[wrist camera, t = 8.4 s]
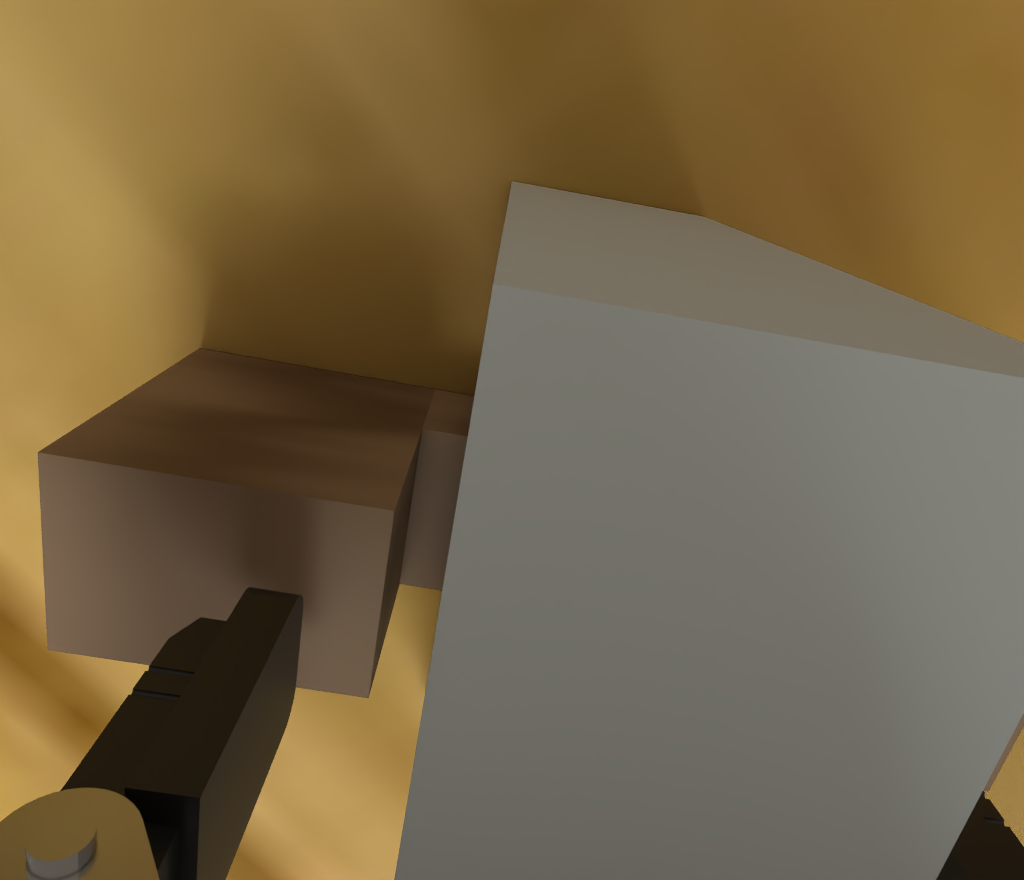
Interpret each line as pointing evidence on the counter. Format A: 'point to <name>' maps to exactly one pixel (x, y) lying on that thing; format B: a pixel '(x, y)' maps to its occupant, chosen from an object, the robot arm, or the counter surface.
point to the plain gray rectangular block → (718, 566)
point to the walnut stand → (253, 510)
